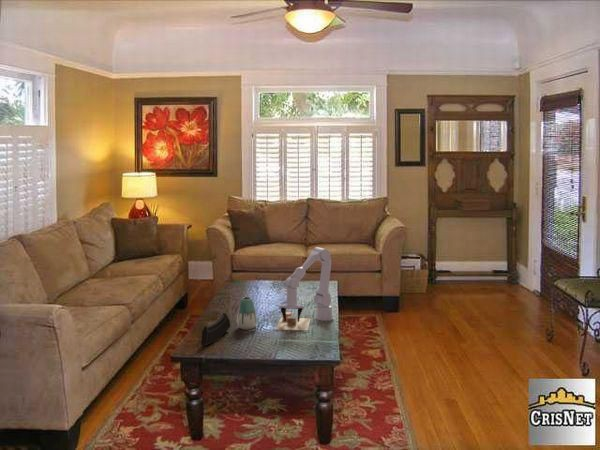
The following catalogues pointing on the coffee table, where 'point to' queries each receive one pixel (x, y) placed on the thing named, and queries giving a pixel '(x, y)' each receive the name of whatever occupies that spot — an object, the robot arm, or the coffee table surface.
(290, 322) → the walnut block
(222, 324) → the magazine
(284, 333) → the coffee table surface
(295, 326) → the birch board
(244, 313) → the vase
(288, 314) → the terracotta block
